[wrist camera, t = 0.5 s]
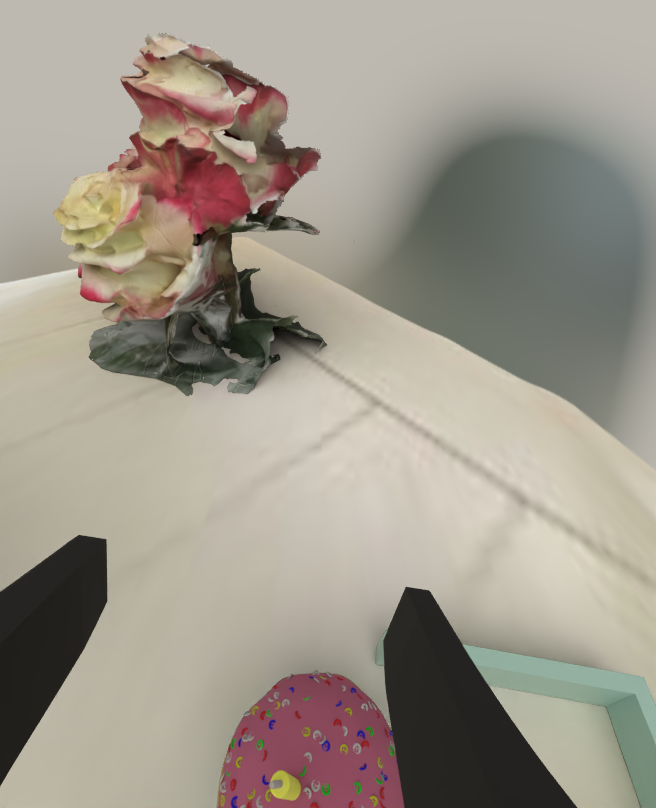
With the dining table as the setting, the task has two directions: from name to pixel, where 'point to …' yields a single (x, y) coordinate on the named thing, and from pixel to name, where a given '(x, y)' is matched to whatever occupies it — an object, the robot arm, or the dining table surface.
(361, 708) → the cupcake
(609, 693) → the mint green u shape
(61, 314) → the dining table surface
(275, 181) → the rose bouquet
